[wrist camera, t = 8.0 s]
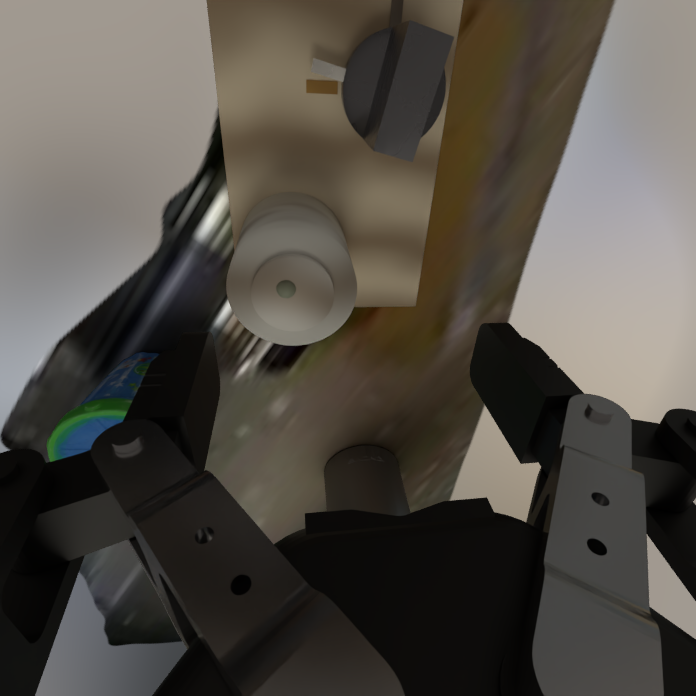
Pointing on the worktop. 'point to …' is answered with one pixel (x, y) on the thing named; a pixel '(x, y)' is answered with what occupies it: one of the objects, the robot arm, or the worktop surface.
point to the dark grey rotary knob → (393, 86)
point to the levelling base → (316, 166)
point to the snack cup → (99, 408)
